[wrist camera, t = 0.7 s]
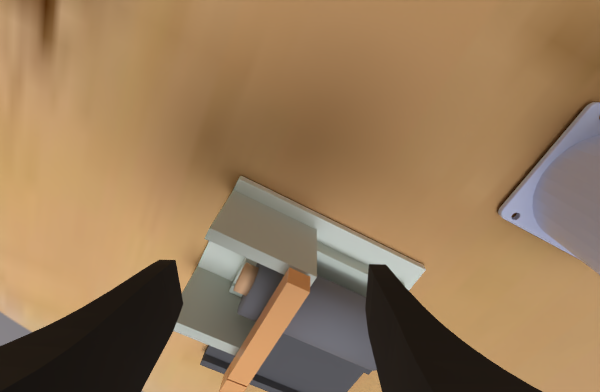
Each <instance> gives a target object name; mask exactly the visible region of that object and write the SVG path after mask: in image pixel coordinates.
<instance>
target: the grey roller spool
mask: <svg viewBox="0 0 600 392" xmlns="http://www.w3.org/2000/svg"><path fill="white" fill-rule="evenodd" d="M283 277H284V275H283V274H281V273H279V272H277V271H275V270H272V269H270V268H268V267H266V266H264V265H261V264H259V263H257V265H256V266H253V265H251V264H249V263H247V262H246V264H245V265H244V267H243V269H242V271H241V273H240V275H239V277H238V279H237V281H236V284H235V286H234V290H233V291H236V292H238V293H240V294H243V295H242V298H241V300H240V303H239V307H238V311H237V313H238V314H239V315H241V316H244V317H246V318H248V319H251V320H253V321H255V322H256V321H257V319H258V318H259V316H260V315H261V313H262V311H263V310H264V308H265V306H266V305H267V303H268V301H269V300H270V298H271V296H272V295H273V293H274V292H275V290H276V288H277V287H278V285H279V283H280V282H281V280H282V278H283ZM365 305H366V297H364V296H362V295H360V294H358V293H356V292H354V291H351V290H349V289H347V288H345V287H343V286H341V285H338V284H336V283H334V282H332V281H330V280H328V279H325V278H323V277H321V276H319V275H317V278H316V279H315V281H314V282H313V284H312V285H311V287H310V293H309V295H308V296H307V298H306V299H305V301H304V302H303V304H302V305H301V307H300V308H299V310H298V311H297V313H296V314H295V316H294V317H293V319H292V320H291V322H290V323H289V325H288V326H287V328H286V329H285V331H284V332H283V333H284V334H286V335H288V336H291V337H293V338H295V339H298V340H300V341H302V342H305V343H307V344H310V345H312V346H314V347H317V348H319V349H321V350H324V351H326V352H328V353H331V354H333V355H335V356H338V357H340V358H342V359H345V360H347V361H350V362H352V363H354V364H357V365H359V366H361V367H364V368H366V369H368V370H371V371H375V370H377V368H376V364H375V360H374V356H373V352H372V348H371V344H370V339H369V335H368V328H367V320H366V311H365Z"/></svg>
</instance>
